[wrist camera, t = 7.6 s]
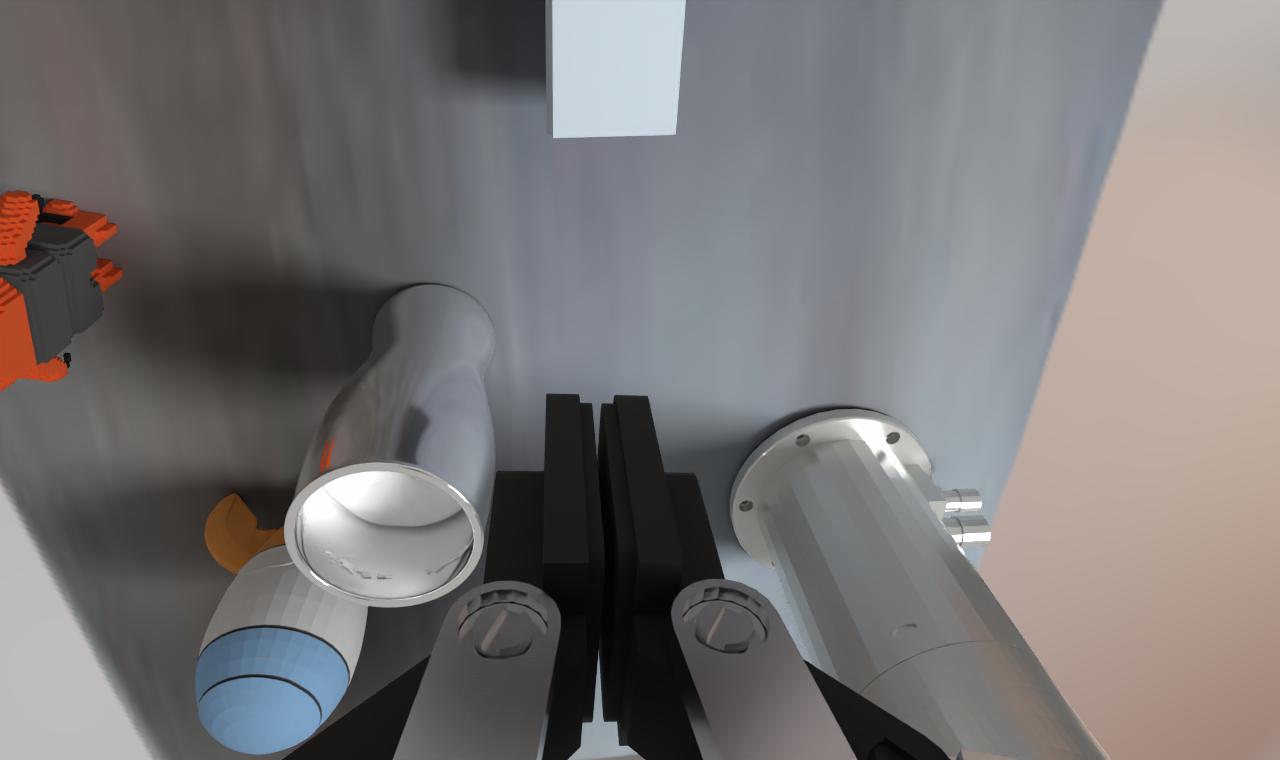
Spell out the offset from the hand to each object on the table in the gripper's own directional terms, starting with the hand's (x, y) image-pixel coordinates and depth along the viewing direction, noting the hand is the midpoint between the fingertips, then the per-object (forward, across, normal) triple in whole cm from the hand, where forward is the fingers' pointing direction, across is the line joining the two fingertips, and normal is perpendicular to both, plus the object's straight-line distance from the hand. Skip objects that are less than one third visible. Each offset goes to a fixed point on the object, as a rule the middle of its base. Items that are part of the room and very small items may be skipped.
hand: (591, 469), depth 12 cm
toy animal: (+25, +22, +6) cm, 34 cm away
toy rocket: (+25, +14, +21) cm, 36 cm away
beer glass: (+25, +6, +10) cm, 28 cm away
